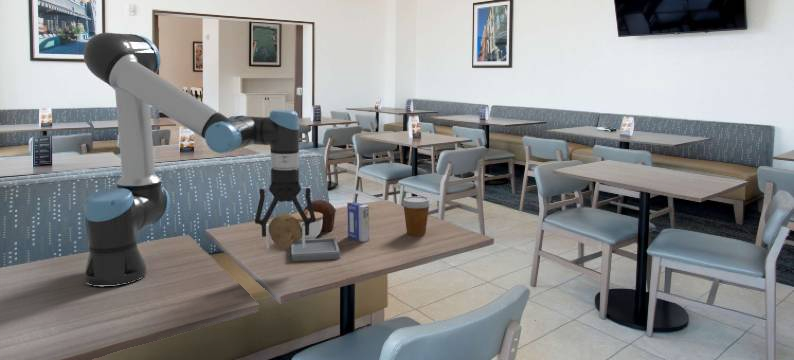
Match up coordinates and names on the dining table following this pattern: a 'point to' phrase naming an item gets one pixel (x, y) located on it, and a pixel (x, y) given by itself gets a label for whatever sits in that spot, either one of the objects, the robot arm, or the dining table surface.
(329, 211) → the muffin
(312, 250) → the slate square tray
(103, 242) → the robot arm
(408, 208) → the disposable coffee cup
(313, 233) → the lidded jar
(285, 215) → the natural sponge
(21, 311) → the dining table surface
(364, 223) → the walkman
